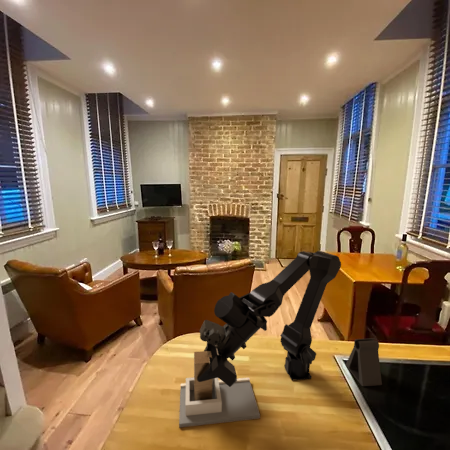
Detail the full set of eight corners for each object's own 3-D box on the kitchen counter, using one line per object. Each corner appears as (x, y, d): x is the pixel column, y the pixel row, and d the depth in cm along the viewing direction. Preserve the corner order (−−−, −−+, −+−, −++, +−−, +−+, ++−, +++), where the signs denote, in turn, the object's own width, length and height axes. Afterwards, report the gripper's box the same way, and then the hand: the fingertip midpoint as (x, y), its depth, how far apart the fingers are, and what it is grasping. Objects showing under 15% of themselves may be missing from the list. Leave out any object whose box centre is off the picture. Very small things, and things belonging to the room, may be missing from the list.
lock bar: (210, 391, 72) (210, 350, 70) (211, 405, 67) (212, 362, 65) (194, 392, 71) (194, 351, 69) (194, 406, 67) (194, 363, 65)
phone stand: (381, 385, 76) (386, 348, 74) (362, 386, 76) (367, 349, 74) (363, 364, 85) (367, 331, 83) (345, 365, 84) (349, 331, 82)
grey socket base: (248, 381, 77) (249, 369, 76) (259, 418, 65) (260, 404, 64) (180, 388, 74) (180, 375, 73) (179, 427, 62) (178, 413, 62)
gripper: (214, 296, 75) (176, 334, 75) (223, 334, 57) (173, 383, 57) (240, 319, 77) (204, 356, 78) (257, 363, 59) (208, 410, 59)
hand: (197, 373), depth 68 cm, fingers open, 5 cm apart
